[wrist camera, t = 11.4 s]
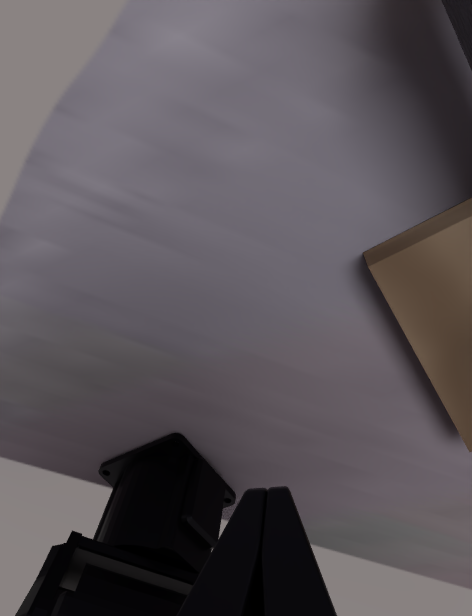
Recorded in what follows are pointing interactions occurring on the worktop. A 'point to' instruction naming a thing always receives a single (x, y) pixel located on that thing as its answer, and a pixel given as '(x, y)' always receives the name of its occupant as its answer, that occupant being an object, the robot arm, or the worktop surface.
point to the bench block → (435, 302)
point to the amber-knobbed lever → (461, 23)
